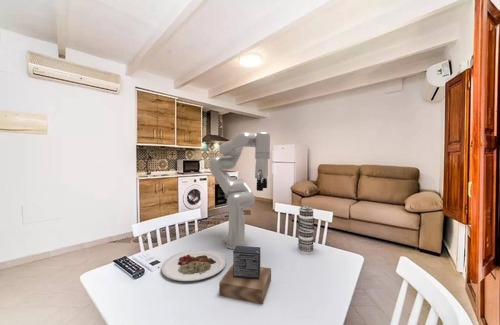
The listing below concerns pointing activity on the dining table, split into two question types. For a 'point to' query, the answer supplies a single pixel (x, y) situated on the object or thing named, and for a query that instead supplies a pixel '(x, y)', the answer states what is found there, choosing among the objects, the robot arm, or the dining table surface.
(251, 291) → the block
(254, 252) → the small box
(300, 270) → the dining table surface
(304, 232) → the decorative candle
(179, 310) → the dining table surface
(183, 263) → the plated food
